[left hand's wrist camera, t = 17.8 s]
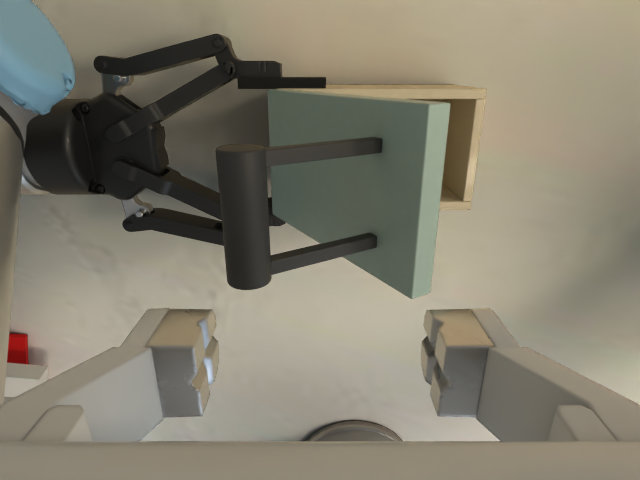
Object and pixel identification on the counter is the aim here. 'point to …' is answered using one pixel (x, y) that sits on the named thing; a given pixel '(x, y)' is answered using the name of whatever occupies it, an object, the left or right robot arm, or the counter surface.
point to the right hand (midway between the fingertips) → (325, 147)
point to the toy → (21, 368)
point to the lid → (338, 187)
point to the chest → (459, 137)
